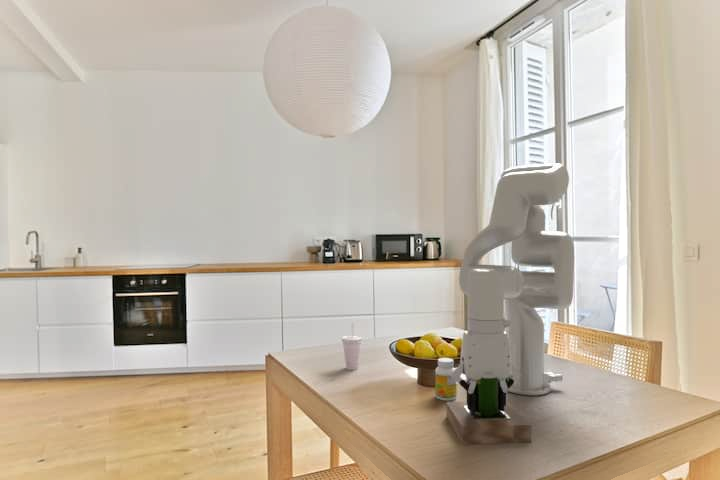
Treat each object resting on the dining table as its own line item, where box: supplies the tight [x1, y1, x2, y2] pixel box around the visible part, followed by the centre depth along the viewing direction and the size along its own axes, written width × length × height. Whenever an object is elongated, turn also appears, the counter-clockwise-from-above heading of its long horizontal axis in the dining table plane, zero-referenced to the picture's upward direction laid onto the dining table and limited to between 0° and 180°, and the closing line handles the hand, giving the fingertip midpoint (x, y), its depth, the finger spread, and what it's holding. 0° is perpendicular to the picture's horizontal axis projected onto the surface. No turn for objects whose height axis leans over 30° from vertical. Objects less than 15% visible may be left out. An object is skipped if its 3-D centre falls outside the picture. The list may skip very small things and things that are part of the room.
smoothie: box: [341, 323, 363, 371], centre depth 149 cm, size 6×6×14 cm
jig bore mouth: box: [463, 406, 510, 421], centre depth 103 cm, size 8×8×1 cm
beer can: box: [474, 373, 499, 418], centre depth 103 cm, size 5×5×12 cm
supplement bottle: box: [434, 357, 458, 402], centre depth 122 cm, size 5×5×10 cm
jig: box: [445, 400, 532, 446], centre depth 103 cm, size 14×14×4 cm
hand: (486, 408), depth 103 cm, fingers closed on beer can, 5 cm apart
